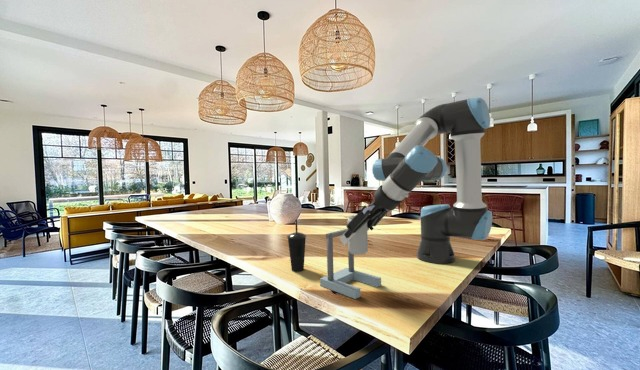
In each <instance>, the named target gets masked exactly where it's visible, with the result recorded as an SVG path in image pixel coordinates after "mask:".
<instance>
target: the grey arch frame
mask: <svg viewBox="0 0 640 370" xmlns="http://www.w3.org/2000/svg"><path fill="white" fill-rule="evenodd" d="M347 229H348V228H344V229H340V230H336V231H332V232H328V233H327V232H326V234H325V239H326V260H327V261H326V262H327V263H326V265H327V269H326V270H327V275H325V276H323V277H321V278H319V283H320V284H319V285H320V287H323V288H324V289H328V290H329V291H333V292H335V293H338V294H341V295H344V296H346V297H349V298H352V299H354V300H358V298H361V288H360V287H357V286H355V285H351V284H348V283H349V282H351V281H356V282H360V283H363V284H366V285H368V286H372V287H374V288H378V287H380V286H382V277H380V276H377V275H372V274H369V273H366V272H362V271H359V270H356V269H355V254H351V253H350V252H349V251H348V250H347V253H348V256H347V258H348V259H347V260H348V267H345V268H343V269H340V270H337V271H335V272H334V246H333V245H334V244H333V243H334V242H333V241H334V238H337V237H341V236H342V235H343V234H344V233H345V232H346V231H347Z"/></svg>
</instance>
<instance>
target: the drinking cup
mask: <svg viewBox="0 0 640 370" xmlns="http://www.w3.org/2000/svg"><path fill="white" fill-rule="evenodd" d="M294 221H295V223H294V224H295V232H293V233H292V232H291V233H289V234H288V235H286V238H287V243H288V251H289V259H290V267H291V268H290V269H291V271H292V272H302V271H304V269H305V255H306V241H307V240H306V239H307V235H306V234H305V233H302V232H298V219H295V220H294Z"/></svg>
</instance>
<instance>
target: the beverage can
mask: <svg viewBox="0 0 640 370" xmlns="http://www.w3.org/2000/svg"><path fill="white" fill-rule="evenodd" d="M356 215H357V214H353V215H352V214H351V215H349V216H348V219H347V225H348V224H349V223H350V221H351V220H352V219H353V218H354V217H355V216H356ZM368 236H369V235H368V231H367V222H366V223H365V224H364V225H363V226H362V227H361V228H359V229H358V230H357V231H356V234H355V235H354V236H353V237H352V238H351V239H350V241H349V242H348V243H347V252H348V251H349V252H350V253H351V254H354V256H355V255H359V256H360V255H361V256H362V255H365V254H366V253H367V252H368V248H369V247H368V245H369V243H368V242H369V241H368Z"/></svg>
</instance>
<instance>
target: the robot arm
mask: <svg viewBox="0 0 640 370" xmlns="http://www.w3.org/2000/svg"><path fill="white" fill-rule="evenodd" d="M490 126H491V115H490V110H489V107H488V105H487V103H486V101H485V100H484V99H483V98H481V97H474V98H467V99H462V100H457V101H453V102H447V103H442V104H438V105H436V106H434V107H432V108H430V109H429V110H428V111H426V112H425V113H423V114H422V115H421V116H419V118H417V120H416V121H415V122H414V124H413V128H412V129H411V130H410V131H409V132H408V133H407V135H406V136H405V137H404V138H403V139H402V140H401V141H400V142H399V143H398V144H397V146H396V147H395V148H394V149H393V150H392V151H391V152H390V153H389V155H388V156H386V158H383V157H382V158H379V159H375V161H374V162H373V164H372V169H371V171H372V175H373V178H374V179H375V180H377V181H379V182H381V185H380V186H379V187H378V188H377V189H376V190H375V192H374V193H373V198H374V200H373V201H371V202H370V203H369V205H368V206H366V205H363V206H362V207H361V209H360V210H359V212H358V213H357V214H355V215H356V216H355V217H354V218H353V219H352V220H351V221H350V223H349V224H348V223H347V225H346V227H345V228H346V229H347V231H346V232H345V233H344V234H343V235H341V236H339V241H340V243H342V245H343V246H347V245H348V242H349V241H350V239H351V238H352V237H353V236H354V235H355V234H356V231H357V230H358V229H359V228H361V227H362V226H363V225H364V224H365V223H366V222H367V232H368V231H373V230H374V227H376V226H377V225H378V223H380V221H382V219H383V218H384V217H385V216H386V215H387V214H388V212H389V211H394V210H395V209H396V208H397V207H398V206H400V204H401V202H402V201H403V200H405V198H409V196H410V195H409V194H410V193H411V192H412V191H413V190H414V189H415V188H416V187H417V186H418V185H419V184H420V183H421V182H436V181H438V180H441V179H443V177H444V176H445V175H446V173H447V169H448V167H447V163H446V161H445V160H444V159H443V158H441V157H440V156H436V154H434V153H433V152H432V151H431V150H430V149H428V148H427V147H425V145H427V143H428V142H429V140H433V138H435V137H436V136H438V135H442V134H450V138H451V139H452V140H453V141H454V145H455V146H454V149H455V150H454V151H455V152H454V153H455V175H456V176H455V177H456V202H454V203H453V204H452V208H451V205H450V204H446V203H444V204H443V203H442V204H434V205H426V206H423V207H422V208H421V209H420V242H419V245H418V247H417V249H416V250H417V251H416V258H417V259H418V260H420V261H422V262H426V263H432V264H450V263H453V262H455V261H456V255H455V251H454V248H453V246H452V243H451V237H454V238H459V239H460V238H461V239H466V240H467V239H468V240H471V241H484V240H486V239H487V238H488V237H489V235H490V233H491V229H492V224H493V212H492V211H491V210H489V209H488V208H487V207H488V205H487V204H486V203H485V202H483V200H482V199H483V195H482V193H483V192H482V191H483V190H482V156H481V155H482V154H481V152H482V151H481V139H482V138H483V136H484V135H485V133H486V130H487V129H489V128H490Z"/></svg>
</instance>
